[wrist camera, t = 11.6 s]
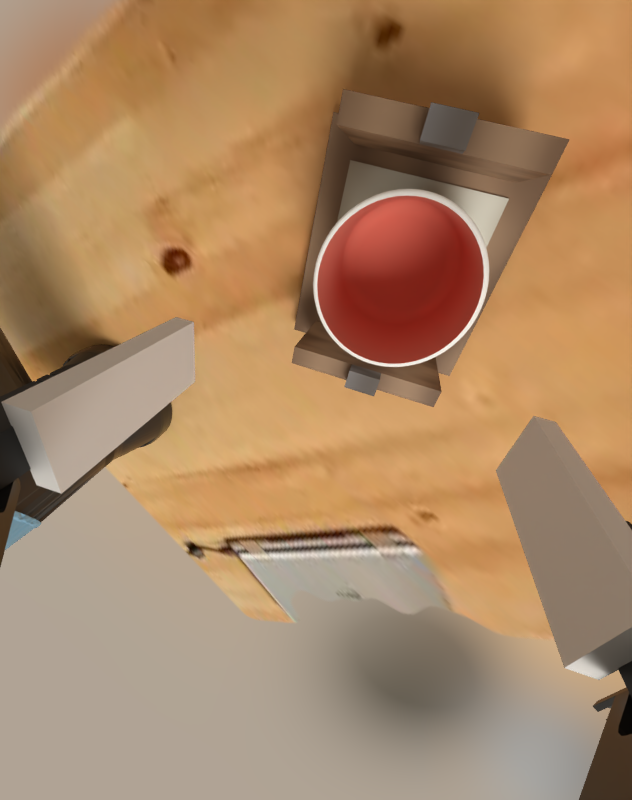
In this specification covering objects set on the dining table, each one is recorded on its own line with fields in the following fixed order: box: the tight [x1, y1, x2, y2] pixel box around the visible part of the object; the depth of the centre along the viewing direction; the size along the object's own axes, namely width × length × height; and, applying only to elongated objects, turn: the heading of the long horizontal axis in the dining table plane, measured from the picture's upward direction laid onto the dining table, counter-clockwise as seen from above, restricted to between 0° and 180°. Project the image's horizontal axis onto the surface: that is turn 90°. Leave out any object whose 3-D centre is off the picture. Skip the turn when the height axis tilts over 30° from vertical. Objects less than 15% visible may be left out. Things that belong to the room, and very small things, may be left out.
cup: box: [313, 189, 489, 367], centre depth 23 cm, size 10×10×10 cm
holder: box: [292, 89, 569, 407], centre depth 25 cm, size 16×17×10 cm
